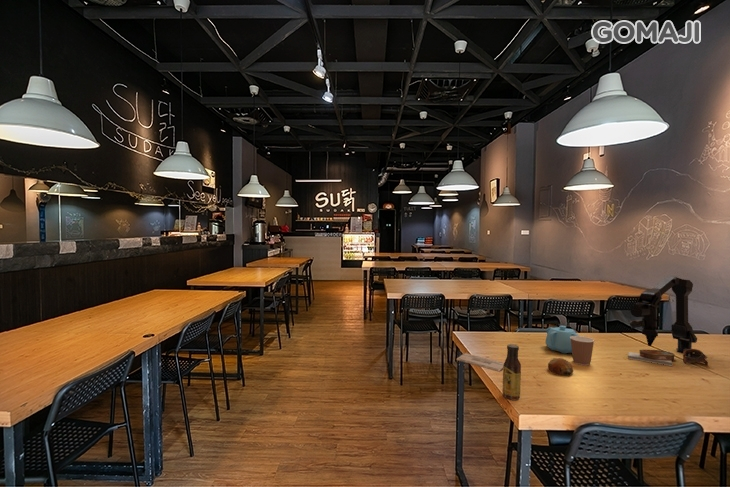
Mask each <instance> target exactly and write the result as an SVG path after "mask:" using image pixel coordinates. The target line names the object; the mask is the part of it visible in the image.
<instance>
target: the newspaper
mask: <svg viewBox="0 0 730 487" xmlns="http://www.w3.org/2000/svg"><path fill="white" fill-rule="evenodd" d="M456 361H459V362H462V363H467V364H470V365H474V366H477V367H481V368H485V369H488V370H492V371H496V372H499V373H500V372H501V370H503V365H504V362H502V361H497V360H494V359H490V358H486V357H482V356H479V355H474V354H471V353H466V352H465V353H463V354H461V355H459V356H458V357H457V358H456Z"/></svg>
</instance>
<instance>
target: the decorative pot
mask: <svg viewBox="0 0 730 487" xmlns="http://www.w3.org/2000/svg"><path fill="white" fill-rule="evenodd" d="M571 336H580V335H579V334H578V333H577V332H576V331H575V330H574V329H572V328H567V326H566V325H559V327H555V326H554V327H552V326H550V327H547V328H546V337H545V342H544V343H545V345H546V347H547V348H549V349H550V350H551V351H557V352H560V353H561V354H563V355H567V353H568V354H569V353H570V354H571V353H572V347H571V339H570V337H571Z"/></svg>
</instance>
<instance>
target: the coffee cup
mask: <svg viewBox="0 0 730 487" xmlns="http://www.w3.org/2000/svg"><path fill="white" fill-rule="evenodd" d="M570 339H571V347H572V361H573V363H574V364H576V365H581V366H590V365H591V363H592V357H593V356H592V355H593V352H594V351H593V350H594V344H595V343H594V342H595V339H594V338H592V337H588V336H583V335H579V336H571V337H570Z"/></svg>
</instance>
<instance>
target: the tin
mask: <svg viewBox="0 0 730 487" xmlns="http://www.w3.org/2000/svg"><path fill="white" fill-rule="evenodd" d="M639 354H640V356H642V357H645V358H648V359H656V360H671V361H673V360H675V355H676V354H675V353H673V352H671V351H666V350H661V349H659V350H658V349H639Z"/></svg>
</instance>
